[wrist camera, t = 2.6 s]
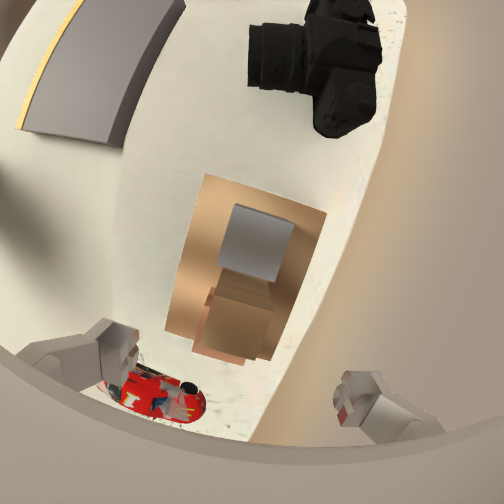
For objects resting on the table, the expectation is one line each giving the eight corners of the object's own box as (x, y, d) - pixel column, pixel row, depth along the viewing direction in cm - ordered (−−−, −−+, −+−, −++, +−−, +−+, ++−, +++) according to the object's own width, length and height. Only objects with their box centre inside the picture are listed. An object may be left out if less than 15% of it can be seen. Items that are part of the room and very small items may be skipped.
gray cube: (269, 266, 22) (274, 282, 18) (221, 251, 21) (215, 264, 18) (286, 219, 21) (294, 224, 17) (236, 203, 21) (233, 204, 17)
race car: (213, 388, 26) (208, 413, 22) (200, 418, 27) (194, 441, 23) (103, 340, 25) (86, 357, 21) (99, 373, 26) (84, 391, 22)
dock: (121, 147, 22) (105, 142, 19) (31, 132, 21) (14, 128, 18) (186, 7, 18) (180, -10, 15) (88, 11, 17) (76, 0, 14)
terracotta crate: (243, 339, 23) (243, 365, 19) (199, 327, 23) (191, 351, 19) (258, 300, 22) (260, 321, 18) (211, 286, 22) (203, 305, 18)
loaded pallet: (268, 347, 26) (279, 433, 15) (171, 318, 25) (129, 393, 14) (319, 211, 23) (377, 226, 12) (209, 175, 23) (174, 158, 11)
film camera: (251, 10, 19) (252, -47, 10) (343, 22, 19) (373, -26, 10) (244, 140, 22) (242, 108, 13) (352, 149, 22) (402, 130, 13)
